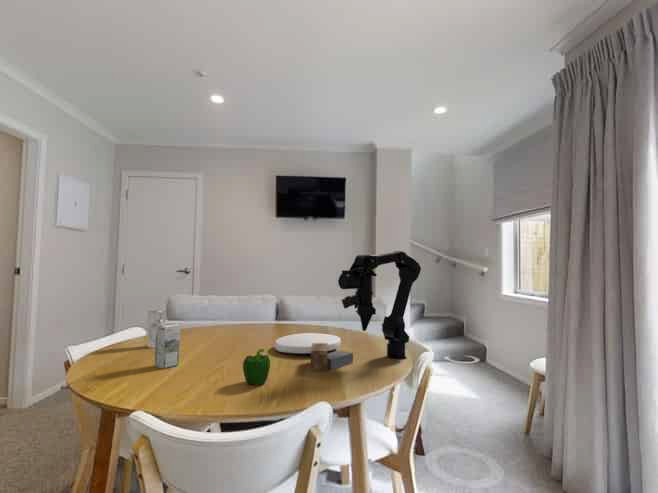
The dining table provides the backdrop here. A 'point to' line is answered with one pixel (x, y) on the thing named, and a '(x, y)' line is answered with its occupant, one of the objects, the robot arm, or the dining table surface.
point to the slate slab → (339, 359)
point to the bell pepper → (256, 368)
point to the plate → (305, 342)
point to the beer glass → (154, 325)
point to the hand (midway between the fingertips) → (364, 330)
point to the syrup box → (167, 345)
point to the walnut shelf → (319, 356)
